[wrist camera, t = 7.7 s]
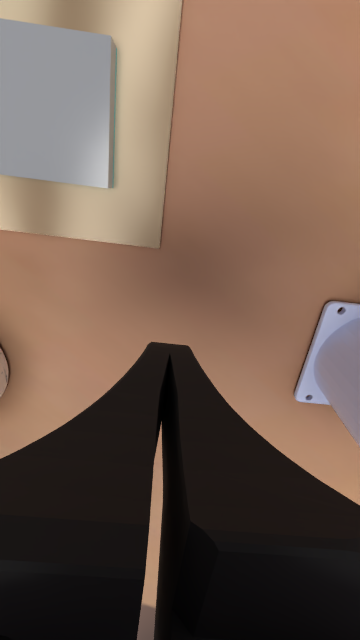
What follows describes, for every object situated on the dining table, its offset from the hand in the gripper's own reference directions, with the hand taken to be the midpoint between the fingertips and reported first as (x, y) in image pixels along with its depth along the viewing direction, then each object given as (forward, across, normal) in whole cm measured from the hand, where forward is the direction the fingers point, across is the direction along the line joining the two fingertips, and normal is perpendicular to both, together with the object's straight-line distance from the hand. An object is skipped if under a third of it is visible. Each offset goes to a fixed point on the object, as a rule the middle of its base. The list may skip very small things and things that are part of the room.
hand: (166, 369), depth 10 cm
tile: (+9, +4, -8) cm, 13 cm away
